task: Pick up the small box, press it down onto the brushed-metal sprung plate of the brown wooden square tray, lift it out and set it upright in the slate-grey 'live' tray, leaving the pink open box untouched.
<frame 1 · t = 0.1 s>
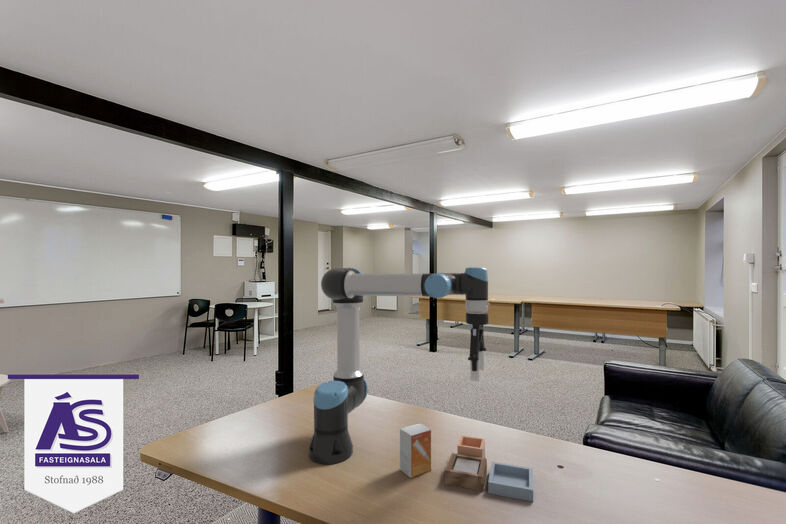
hand: (477, 375, 126), 28 cm above the table, fingers open, 13 cm apart
pink open box: (471, 460, 124), on the table
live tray: (511, 485, 109), on the table
brown wooden square tray: (466, 477, 113), on the table
sprung plate: (466, 468, 113), point 3 cm above the table, slide at 1.2 cm
small box: (415, 470, 118), on the table
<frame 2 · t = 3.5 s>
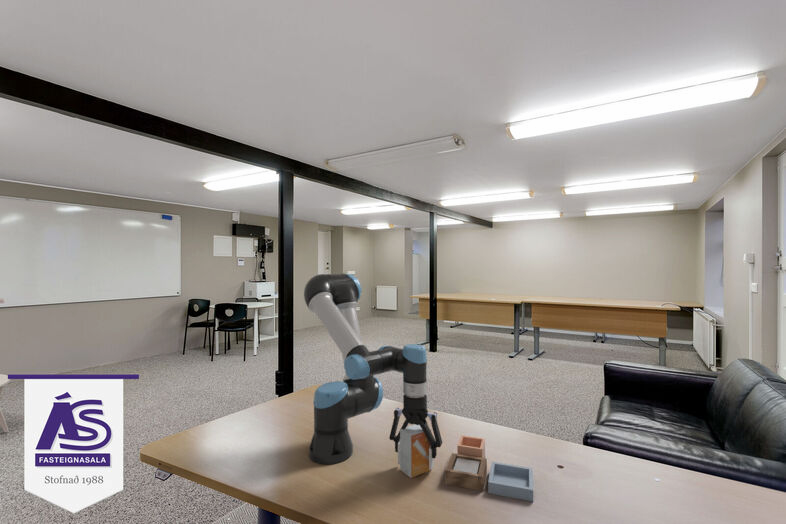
hand: (415, 464, 118), 2 cm above the table, fingers closed on small box, 10 cm apart
small box: (415, 470, 118), on the table, touching gripper
everything else where it was.
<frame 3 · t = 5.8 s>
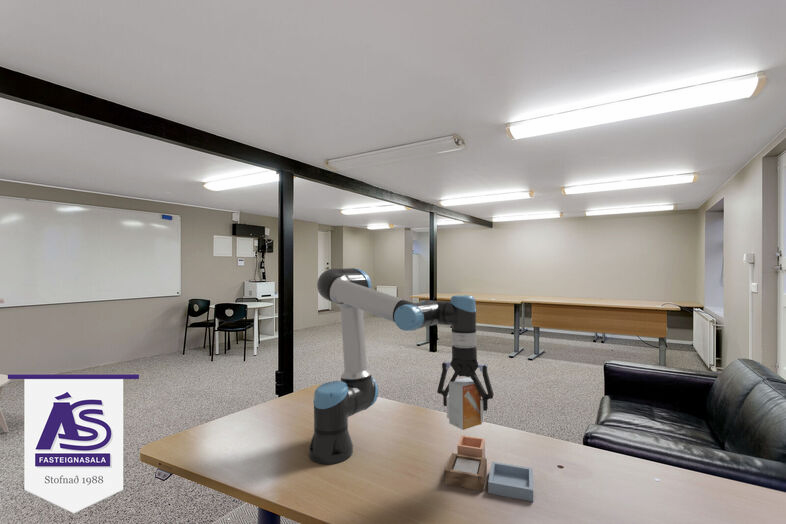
hand: (465, 418, 114), 18 cm above the table, fingers closed on small box, 10 cm apart
small box: (465, 424, 114), point 16 cm above the table, touching gripper
everything else where it was.
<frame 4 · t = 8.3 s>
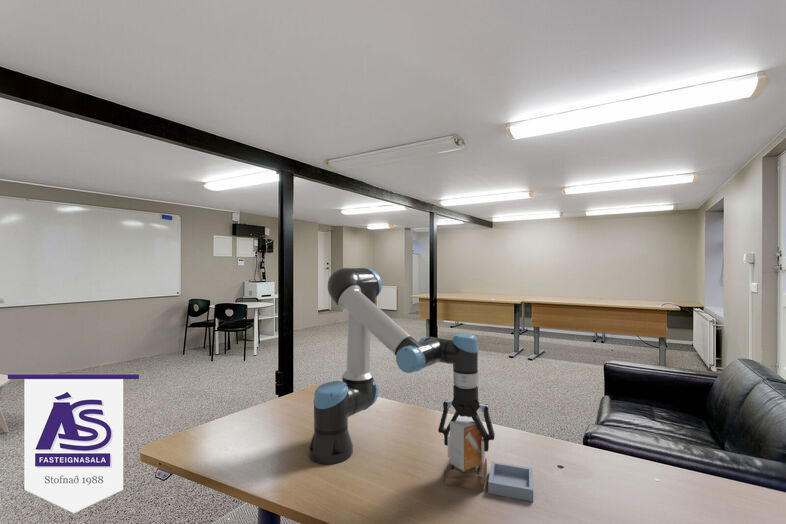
hand: (466, 458, 114), 6 cm above the table, fingers closed on small box, 10 cm apart
small box: (466, 464, 113), point 4 cm above the table, touching gripper
everything else where it was.
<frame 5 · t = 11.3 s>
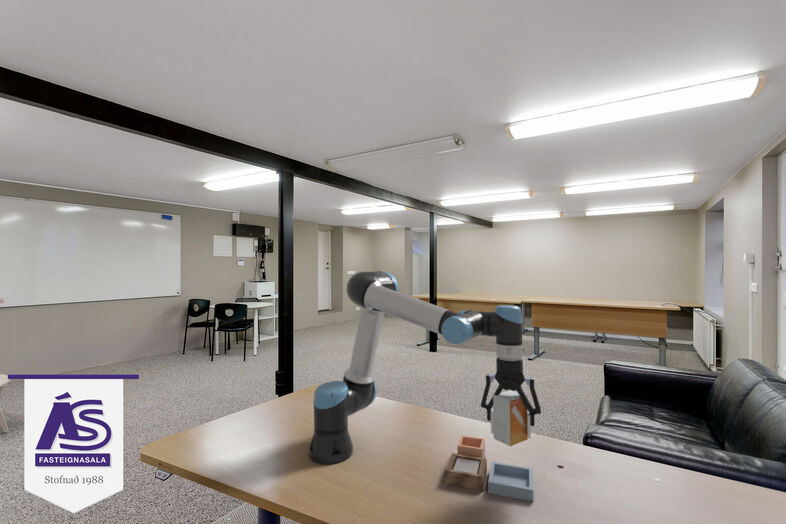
hand: (510, 434, 109), 15 cm above the table, fingers closed on small box, 10 cm apart
small box: (510, 440, 109), point 13 cm above the table, touching gripper
everything else where it was.
when the fingers open (4 cm above the table, at t = 13.6 s): small box moves 1 cm, resting on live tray.
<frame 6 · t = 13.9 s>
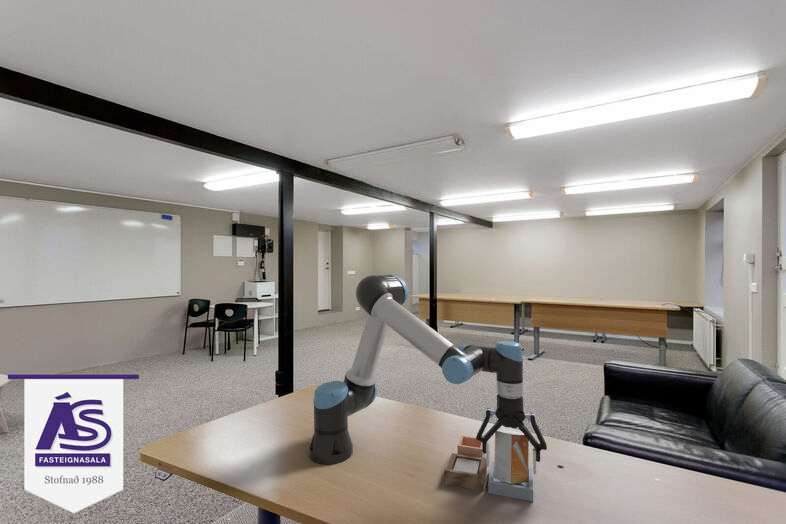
hand: (510, 468, 109), 5 cm above the table, fingers open, 12 cm apart
small box: (511, 481, 108), point 2 cm above the table, touching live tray
everything else where it was.
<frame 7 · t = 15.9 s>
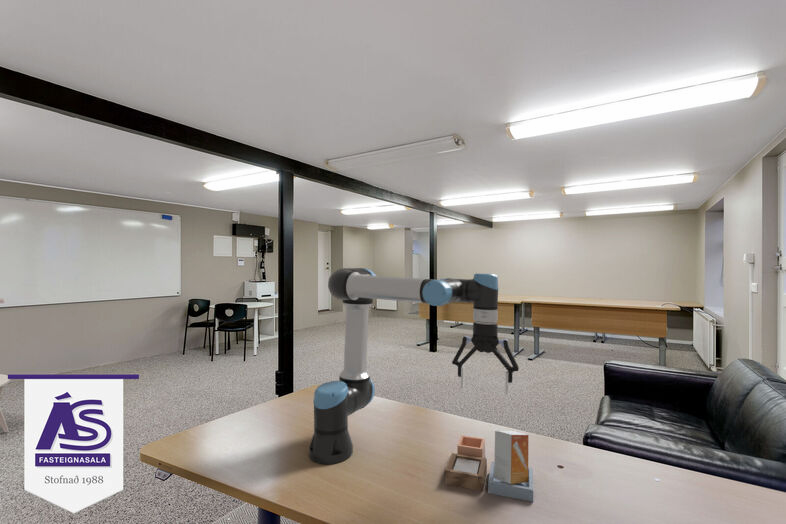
hand: (484, 390, 116), 26 cm above the table, fingers open, 13 cm apart
nothing on the table moved.
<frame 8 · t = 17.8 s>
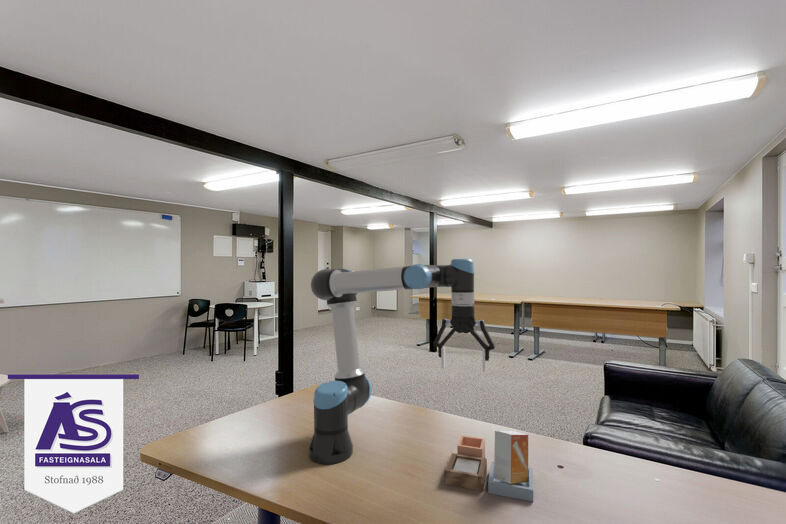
hand: (463, 368, 123), 31 cm above the table, fingers open, 13 cm apart
nothing on the table moved.
at the end: small box inside the target area on the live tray (1.0 cm from its centre), point 1.8 cm above the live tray's base; small box tilted 16°; the gripper is holding nothing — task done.
